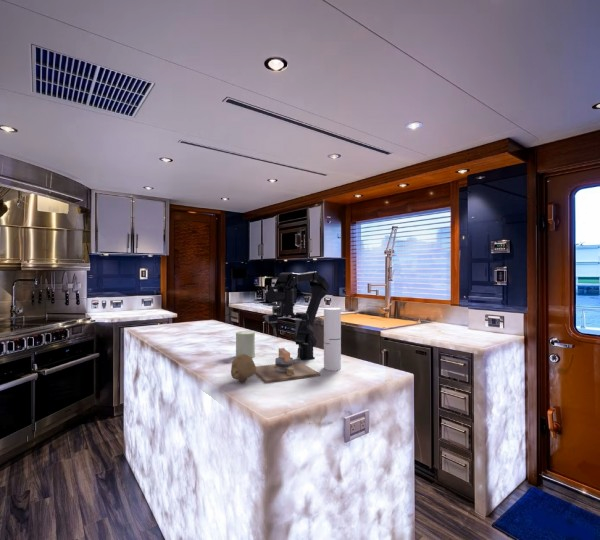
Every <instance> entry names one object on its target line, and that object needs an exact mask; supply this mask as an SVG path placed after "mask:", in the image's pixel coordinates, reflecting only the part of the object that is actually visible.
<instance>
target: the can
mask: <svg viewBox="0 0 600 540" xmlns="http://www.w3.org/2000/svg"><path fill="white" fill-rule="evenodd" d="M255 340H256V332H255V331H252V330H241V331H236V332H235V357H236V356H238V355H242V354H246V355H248V356H250V357H251V358H252V359H253V358H255V357H256V347H255V344H256V341H255Z"/></svg>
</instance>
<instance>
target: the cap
mask: <svg viewBox="0 0 600 540" xmlns="http://www.w3.org/2000/svg"><path fill="white" fill-rule="evenodd" d="M293 362H294V359H293V357H291V353H290V351H288V350H287V349H285V347H278V357H276V358H275V361H274V364H275V365H276V366H279V367H288V366H292V365H293Z"/></svg>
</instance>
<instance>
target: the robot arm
mask: <svg viewBox="0 0 600 540" xmlns="http://www.w3.org/2000/svg"><path fill="white" fill-rule="evenodd" d="M307 281H308V286H310V294H311V297H310V299H309V303H308V306H307V308H306V311H305V312H296V313H295V312H294V307H295V303H294V292H295V291H297V288H296V286H295V285H297V284H298V283H300V282H307ZM329 289H330V285H329V283H328V281H327V279H325V278H324V277H323V276H321V275H320V274H319V272H317V271H314V270H313V271H311V270H309V271H308V272H299V273H296V272H281V273H280V272H279V274H278V277H277V279H276V280H275V283H274V285H273V286H272V285H271V286H269V289H268V290H267V291H266V294H265V298H266V300H267V301H268V303H279V304H278V305H279V306H277V305H273V306H272V307H271V311H272V312H271V313H267V314H265V315H264V321H266V322H267V323H268V324H270V325H271V326H272V329H273V333H274V335H275V337H276V338H278V337H279V322H278V320H279V321H280V320H291V319H293V320H294V323H295V329H294V331H293V333H294V334H293V338H294V341H295V345H298V348H297V358H298V359H299V360H302V361H306V360H314V359H316V357H315V356H314V347H315V346H317V339H316V338H315V336H314V327H313V326H314V322H315V319H316V316H317V314H318V310H319V308H320V304H321V301H322V299H324V298H325V296H327V294H328V291H329Z"/></svg>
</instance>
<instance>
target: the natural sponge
mask: <svg viewBox="0 0 600 540" xmlns="http://www.w3.org/2000/svg"><path fill="white" fill-rule="evenodd" d="M256 366H257V365H256V363H255V361H254V360H253V358H251V357H250V356H248V355H246V354H242V355H238V356H236V355H235V358H233V360H232V363H231V366H230V367H231V368H230V376H231V377H232V378H233V379H234V380H236V381H238V382H240V383H241V382H246V381H247V380H248V379H250V378H251V377H253V376H254V375H256V374H255V372H256Z"/></svg>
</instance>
